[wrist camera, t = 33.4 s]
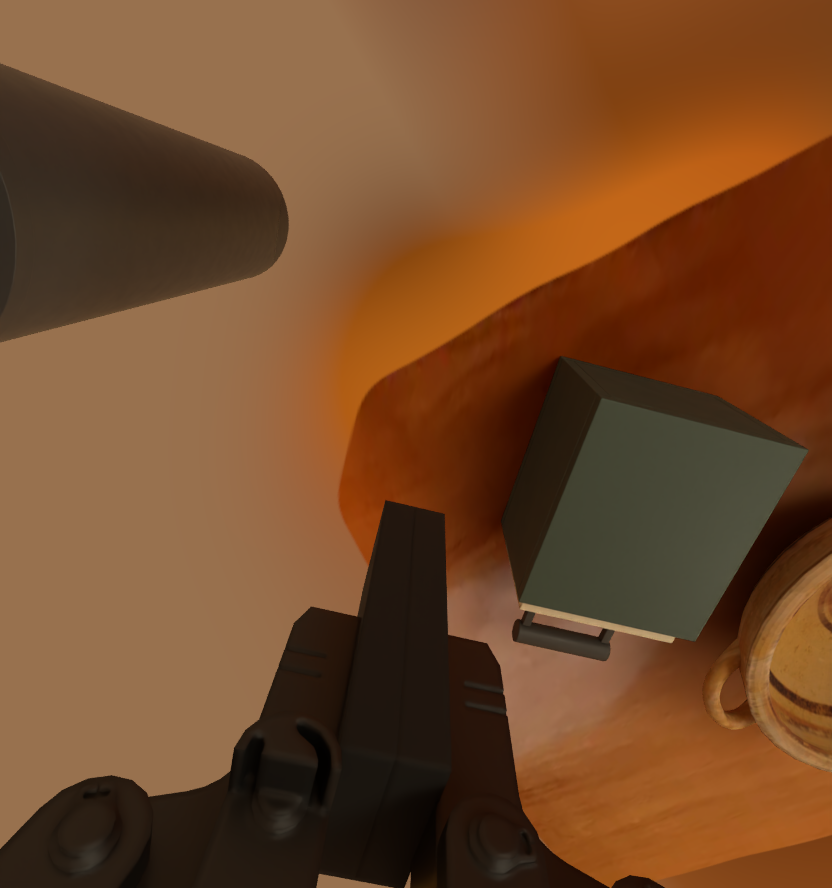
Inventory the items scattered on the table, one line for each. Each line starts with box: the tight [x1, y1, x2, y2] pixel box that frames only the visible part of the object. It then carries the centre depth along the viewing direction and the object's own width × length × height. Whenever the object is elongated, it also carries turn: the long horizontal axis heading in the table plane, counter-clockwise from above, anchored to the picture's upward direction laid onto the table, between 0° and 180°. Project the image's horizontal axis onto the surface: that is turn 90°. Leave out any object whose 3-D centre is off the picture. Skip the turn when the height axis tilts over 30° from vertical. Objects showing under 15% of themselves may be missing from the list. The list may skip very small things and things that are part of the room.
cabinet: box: [501, 356, 808, 642], centre depth 34 cm, size 14×12×10 cm
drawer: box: [505, 542, 675, 661], centre depth 36 cm, size 18×10×8 cm, turn 166°
